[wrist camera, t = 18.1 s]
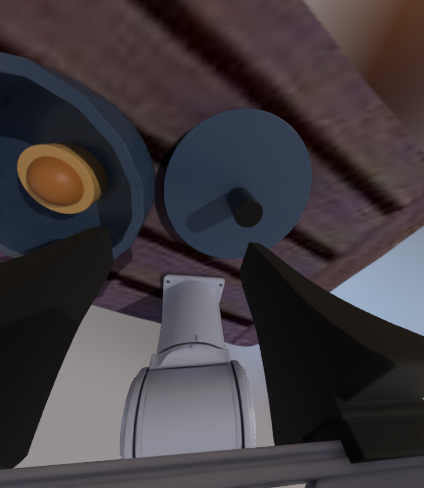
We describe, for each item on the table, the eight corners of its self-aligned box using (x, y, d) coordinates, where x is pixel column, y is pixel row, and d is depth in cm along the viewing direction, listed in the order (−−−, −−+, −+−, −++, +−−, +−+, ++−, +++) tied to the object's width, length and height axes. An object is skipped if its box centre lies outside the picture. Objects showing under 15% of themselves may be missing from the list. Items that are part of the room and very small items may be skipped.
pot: (155, 244, 21) (144, 274, 17) (21, 231, 19) (-33, 262, 15) (156, 98, 14) (139, 83, 10) (-52, 53, 12) (-196, 7, 8)
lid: (277, 258, 24) (295, 286, 20) (162, 247, 22) (155, 276, 17) (332, 128, 17) (381, 127, 12) (168, 91, 14) (157, 74, 10)
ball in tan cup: (110, 206, 18) (90, 225, 15) (52, 199, 17) (14, 217, 14) (104, 148, 16) (76, 153, 12) (34, 136, 15) (-18, 138, 11)
